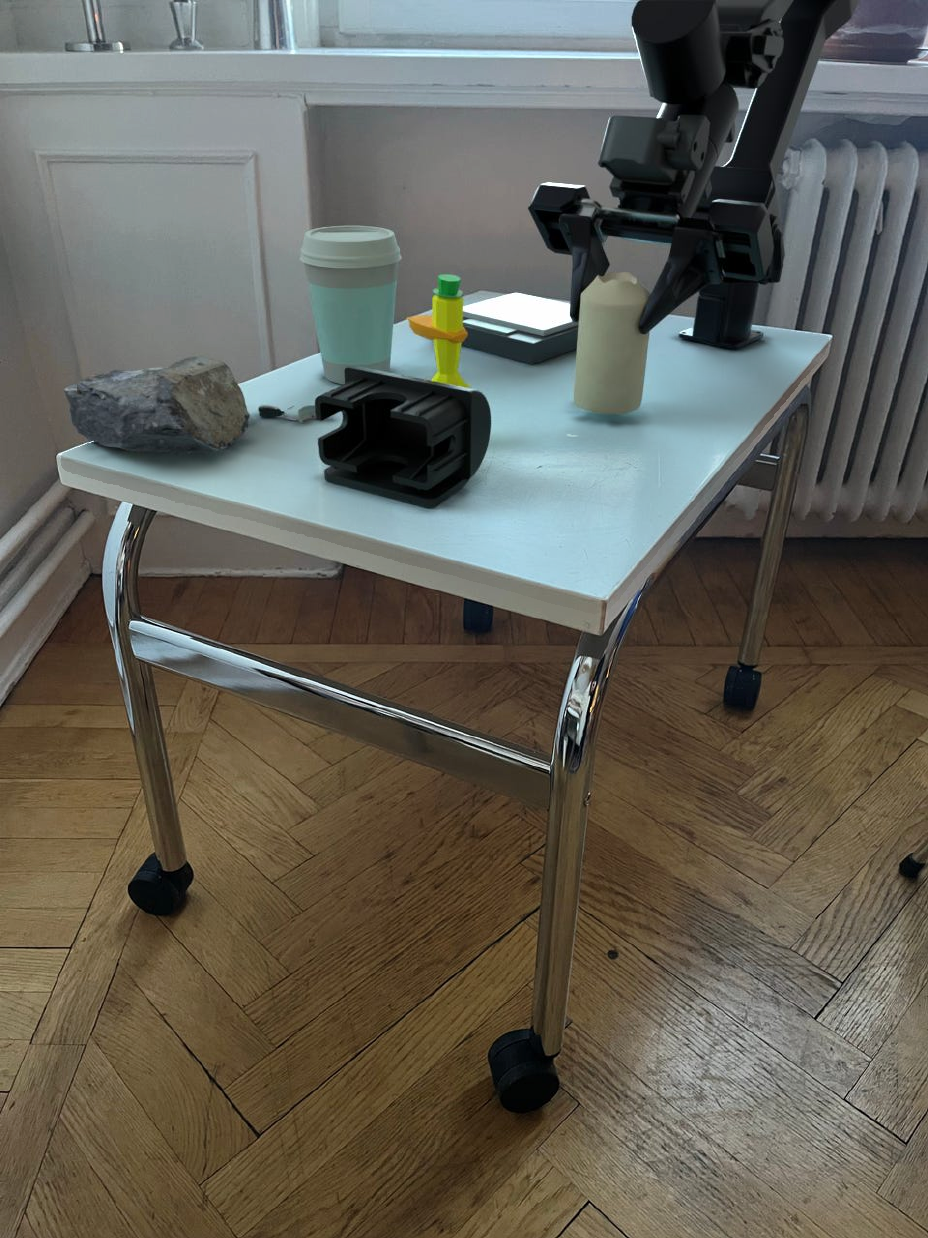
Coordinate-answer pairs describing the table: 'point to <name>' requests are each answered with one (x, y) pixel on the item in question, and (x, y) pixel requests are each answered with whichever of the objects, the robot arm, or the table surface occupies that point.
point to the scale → (520, 327)
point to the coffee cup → (352, 295)
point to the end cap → (403, 435)
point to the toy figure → (444, 329)
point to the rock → (161, 407)
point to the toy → (276, 412)
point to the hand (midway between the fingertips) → (606, 324)
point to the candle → (611, 345)
